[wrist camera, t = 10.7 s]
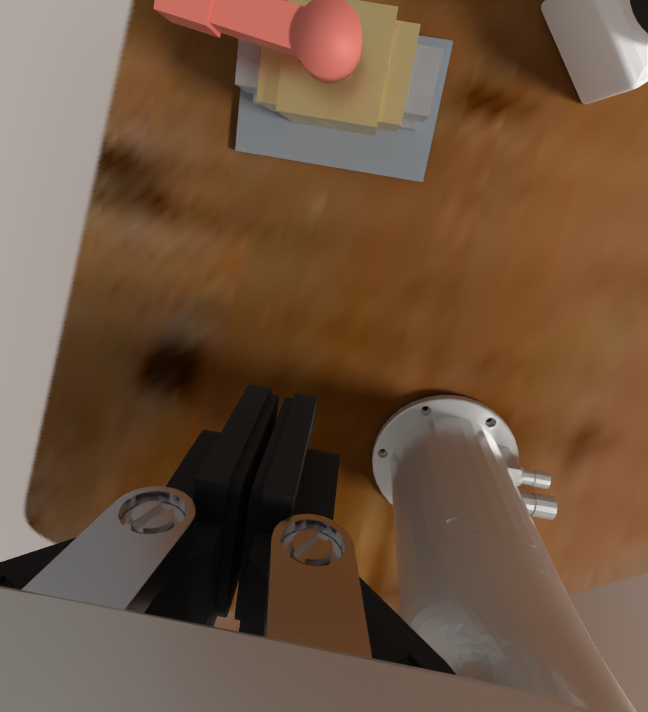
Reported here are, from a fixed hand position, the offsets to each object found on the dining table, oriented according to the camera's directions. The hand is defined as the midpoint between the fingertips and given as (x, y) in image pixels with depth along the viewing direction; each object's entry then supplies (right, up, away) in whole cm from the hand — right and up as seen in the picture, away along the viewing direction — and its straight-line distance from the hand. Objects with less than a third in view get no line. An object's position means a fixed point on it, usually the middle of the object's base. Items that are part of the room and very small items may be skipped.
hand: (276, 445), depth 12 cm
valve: (+2, +21, +22) cm, 31 cm away
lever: (-2, +19, +13) cm, 23 cm away
